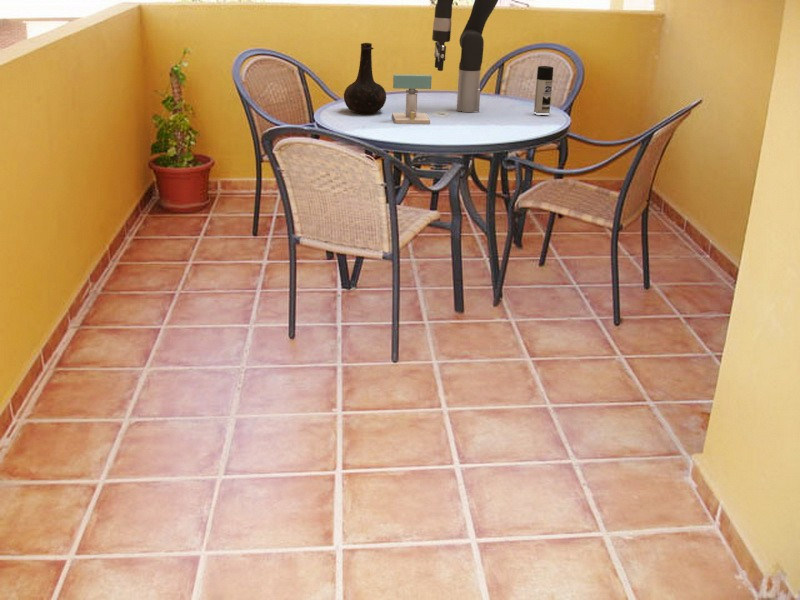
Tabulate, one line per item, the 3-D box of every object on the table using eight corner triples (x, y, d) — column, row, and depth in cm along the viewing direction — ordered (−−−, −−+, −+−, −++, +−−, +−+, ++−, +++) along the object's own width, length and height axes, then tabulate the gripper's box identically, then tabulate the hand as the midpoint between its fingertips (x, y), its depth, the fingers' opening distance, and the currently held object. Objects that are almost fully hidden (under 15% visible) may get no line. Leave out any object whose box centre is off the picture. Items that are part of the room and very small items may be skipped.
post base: (425, 117, 349) (426, 91, 345) (430, 124, 337) (431, 97, 332) (392, 116, 348) (392, 90, 344) (395, 123, 335) (396, 96, 331)
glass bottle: (346, 116, 345) (347, 45, 334) (341, 108, 361) (341, 40, 350) (389, 116, 349) (391, 46, 338) (382, 108, 365) (383, 40, 354)
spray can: (542, 116, 358) (546, 68, 350) (530, 114, 362) (534, 66, 354) (552, 115, 362) (557, 67, 354) (540, 112, 366) (545, 65, 358)
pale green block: (430, 93, 340) (430, 75, 337) (430, 94, 338) (431, 76, 335) (392, 92, 338) (393, 74, 336) (393, 93, 336) (394, 75, 333)
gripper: (453, 31, 344) (450, 72, 351) (448, 28, 357) (444, 67, 364) (435, 30, 343) (432, 71, 350) (430, 26, 356) (427, 66, 363)
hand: (438, 69), depth 357 cm, fingers open, 8 cm apart
